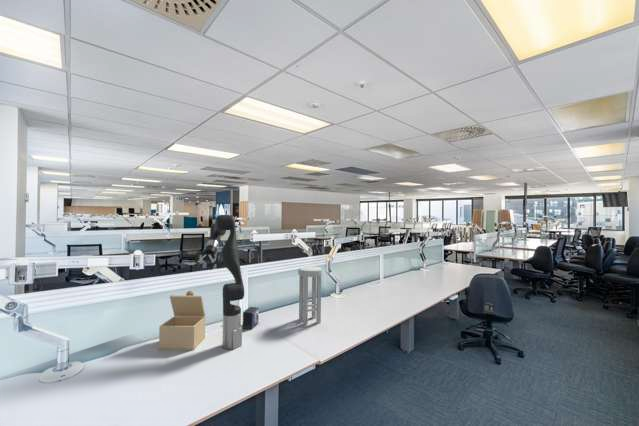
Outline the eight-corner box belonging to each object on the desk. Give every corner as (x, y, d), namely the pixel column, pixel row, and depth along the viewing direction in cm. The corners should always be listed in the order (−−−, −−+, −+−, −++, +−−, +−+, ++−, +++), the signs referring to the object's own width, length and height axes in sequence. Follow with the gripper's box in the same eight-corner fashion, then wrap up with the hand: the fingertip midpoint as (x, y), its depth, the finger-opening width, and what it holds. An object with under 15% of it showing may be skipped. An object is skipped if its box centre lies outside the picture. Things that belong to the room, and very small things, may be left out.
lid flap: (174, 316, 157) (180, 307, 164) (204, 316, 157) (209, 308, 164) (169, 296, 152) (175, 288, 158) (200, 296, 152) (205, 288, 158)
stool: (324, 323, 181) (325, 269, 181) (302, 326, 175) (302, 271, 176) (316, 315, 195) (316, 265, 196) (295, 318, 190) (295, 267, 190)
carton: (173, 337, 157) (173, 316, 157) (204, 338, 157) (205, 316, 157) (159, 349, 143) (159, 326, 143) (193, 349, 143) (194, 326, 143)
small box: (251, 329, 169) (252, 312, 170) (242, 328, 171) (242, 311, 171) (259, 323, 180) (259, 307, 180) (249, 322, 181) (250, 306, 181)
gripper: (199, 244, 180) (190, 265, 169) (221, 244, 180) (213, 265, 169) (202, 251, 185) (194, 272, 174) (223, 251, 185) (217, 272, 174)
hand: (204, 268), depth 171 cm, fingers open, 8 cm apart
